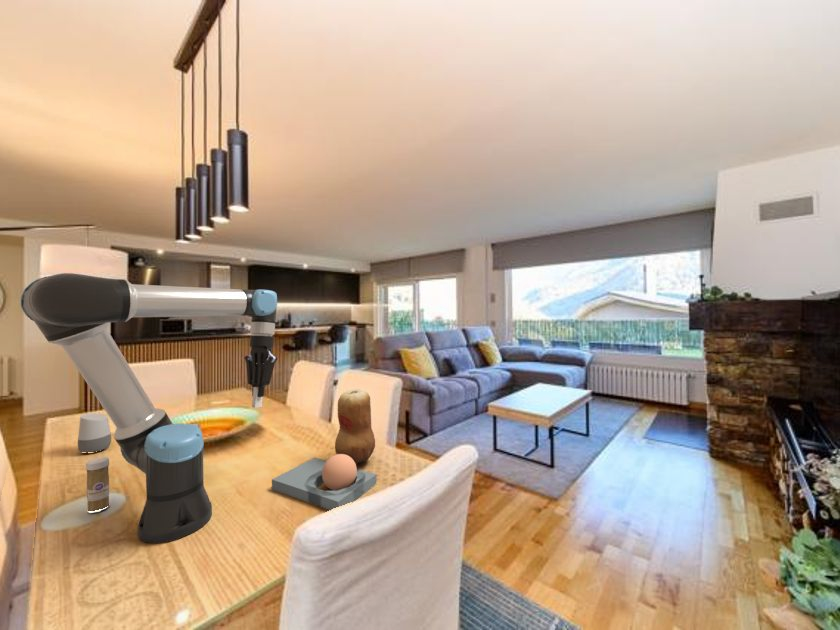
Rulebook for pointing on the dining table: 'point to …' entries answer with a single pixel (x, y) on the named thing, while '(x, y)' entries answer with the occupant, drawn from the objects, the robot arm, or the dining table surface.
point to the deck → (309, 477)
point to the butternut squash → (355, 426)
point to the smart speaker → (93, 433)
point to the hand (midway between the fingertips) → (256, 406)
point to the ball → (339, 472)
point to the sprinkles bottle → (97, 483)
